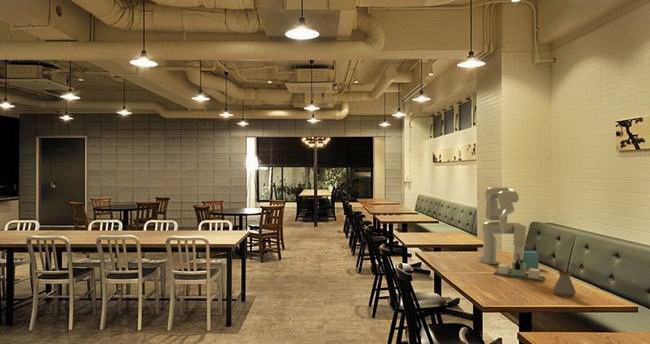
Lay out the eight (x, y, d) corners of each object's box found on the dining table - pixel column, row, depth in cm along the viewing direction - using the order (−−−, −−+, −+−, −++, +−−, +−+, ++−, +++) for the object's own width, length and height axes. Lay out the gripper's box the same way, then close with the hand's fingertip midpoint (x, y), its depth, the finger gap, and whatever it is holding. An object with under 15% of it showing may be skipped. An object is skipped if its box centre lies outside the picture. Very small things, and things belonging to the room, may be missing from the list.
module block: (511, 274, 294) (512, 262, 294) (513, 273, 298) (513, 261, 298) (524, 276, 290) (524, 264, 289) (525, 275, 293) (526, 263, 293)
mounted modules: (498, 272, 298) (498, 265, 298) (500, 271, 303) (500, 263, 303) (538, 278, 284) (538, 271, 283) (539, 276, 289) (540, 269, 289)
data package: (536, 267, 322) (536, 251, 321) (538, 268, 317) (538, 252, 317) (519, 266, 323) (519, 250, 323) (521, 268, 319) (521, 251, 319)
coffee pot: (578, 298, 245) (579, 272, 245) (556, 297, 248) (557, 271, 247) (565, 288, 266) (566, 264, 266) (545, 287, 269) (546, 263, 268)
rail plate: (493, 274, 298) (493, 272, 298) (497, 271, 306) (497, 269, 306) (542, 281, 281) (542, 279, 281) (544, 278, 289) (544, 276, 289)
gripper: (516, 240, 302) (515, 265, 303) (510, 244, 288) (510, 269, 289) (527, 242, 298) (527, 266, 299) (523, 245, 284) (522, 271, 284)
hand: (518, 268), depth 294 cm, fingers open, 9 cm apart
